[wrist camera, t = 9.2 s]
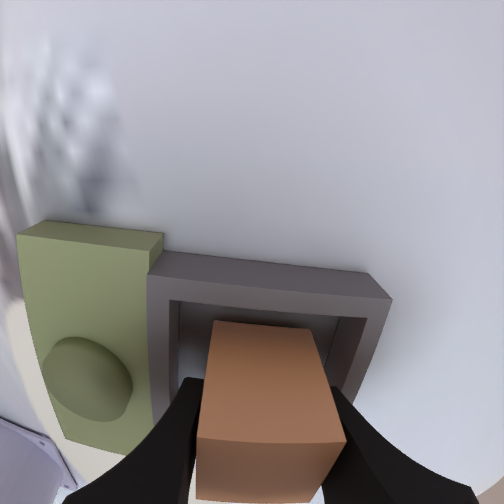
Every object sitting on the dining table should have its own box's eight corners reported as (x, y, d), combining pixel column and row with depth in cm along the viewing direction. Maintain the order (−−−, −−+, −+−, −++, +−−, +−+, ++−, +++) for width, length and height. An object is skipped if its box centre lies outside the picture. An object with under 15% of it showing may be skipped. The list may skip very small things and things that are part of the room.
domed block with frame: (77, 414, 15) (60, 450, 12) (44, 220, 12) (1, 241, 9) (309, 443, 17) (318, 484, 14) (372, 258, 13) (406, 290, 10)
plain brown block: (208, 390, 14) (195, 498, 8) (213, 320, 13) (196, 436, 7) (291, 396, 14) (309, 502, 9) (310, 329, 13) (346, 441, 7)
